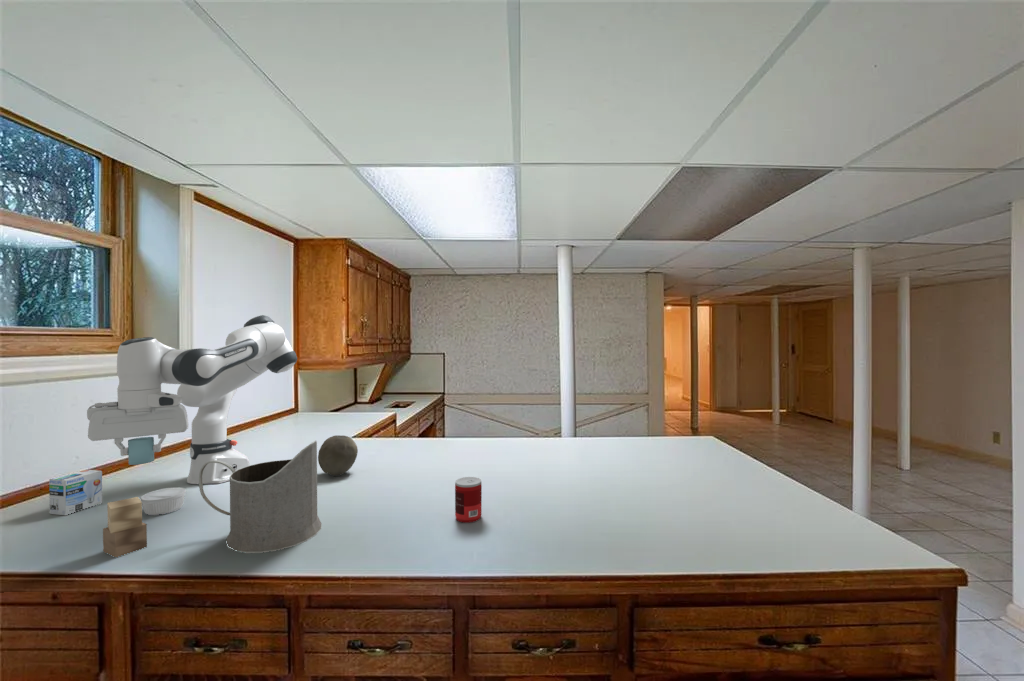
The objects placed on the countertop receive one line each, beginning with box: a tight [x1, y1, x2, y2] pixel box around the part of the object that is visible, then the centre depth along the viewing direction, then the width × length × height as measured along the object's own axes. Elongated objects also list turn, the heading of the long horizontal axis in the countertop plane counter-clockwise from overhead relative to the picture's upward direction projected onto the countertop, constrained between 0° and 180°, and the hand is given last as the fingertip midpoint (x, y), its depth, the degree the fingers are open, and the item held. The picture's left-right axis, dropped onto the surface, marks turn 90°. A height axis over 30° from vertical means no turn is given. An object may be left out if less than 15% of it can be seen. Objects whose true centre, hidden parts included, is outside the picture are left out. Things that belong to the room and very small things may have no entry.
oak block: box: [106, 496, 143, 533], centre depth 116 cm, size 6×6×6 cm
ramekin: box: [140, 487, 187, 516], centre depth 143 cm, size 11×11×5 cm
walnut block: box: [102, 521, 148, 558], centre depth 116 cm, size 6×6×6 cm
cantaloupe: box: [317, 435, 359, 477], centre depth 179 cm, size 14×14×15 cm
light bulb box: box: [48, 469, 103, 516], centre depth 144 cm, size 11×7×11 cm, turn 168°
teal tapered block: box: [127, 436, 155, 466], centre depth 119 cm, size 5×5×6 cm
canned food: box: [454, 476, 483, 524], centre depth 136 cm, size 8×8×11 cm
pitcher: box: [198, 440, 323, 554], centre depth 126 cm, size 23×32×25 cm
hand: (141, 453), depth 119 cm, fingers closed on teal tapered block, 5 cm apart
